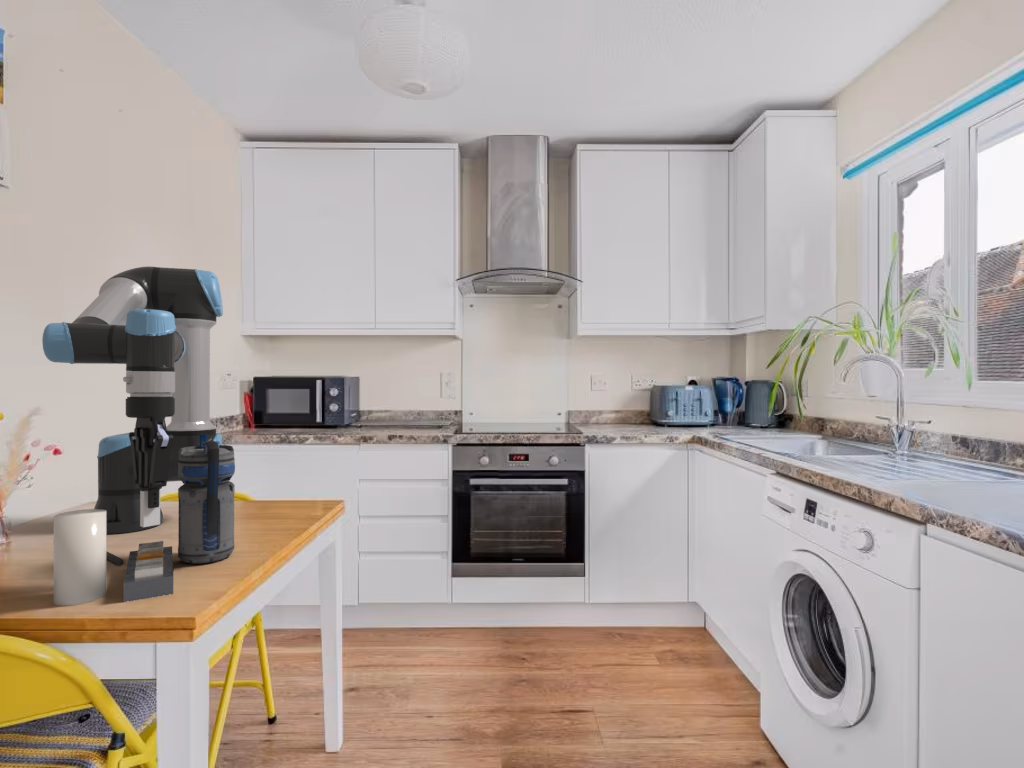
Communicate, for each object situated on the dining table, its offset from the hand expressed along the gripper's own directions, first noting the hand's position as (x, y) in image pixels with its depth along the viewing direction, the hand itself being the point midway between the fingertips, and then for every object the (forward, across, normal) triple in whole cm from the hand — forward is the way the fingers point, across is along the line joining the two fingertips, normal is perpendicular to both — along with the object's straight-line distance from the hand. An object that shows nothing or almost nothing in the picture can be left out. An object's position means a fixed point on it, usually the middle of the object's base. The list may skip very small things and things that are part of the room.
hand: (150, 525), depth 102 cm
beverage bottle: (+10, -4, +12) cm, 16 cm away
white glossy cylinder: (+10, 0, -10) cm, 14 cm away
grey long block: (+10, 0, 0) cm, 10 cm away
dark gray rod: (+10, -19, 0) cm, 22 cm away
